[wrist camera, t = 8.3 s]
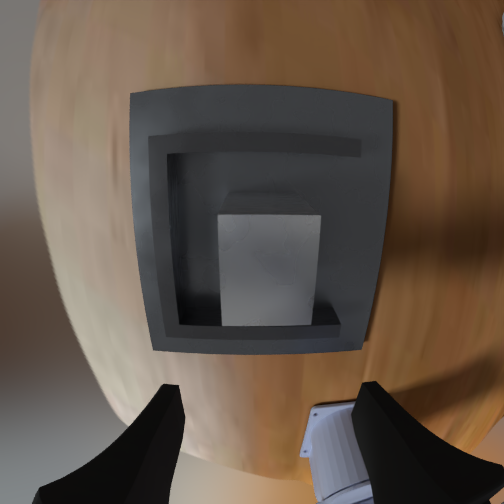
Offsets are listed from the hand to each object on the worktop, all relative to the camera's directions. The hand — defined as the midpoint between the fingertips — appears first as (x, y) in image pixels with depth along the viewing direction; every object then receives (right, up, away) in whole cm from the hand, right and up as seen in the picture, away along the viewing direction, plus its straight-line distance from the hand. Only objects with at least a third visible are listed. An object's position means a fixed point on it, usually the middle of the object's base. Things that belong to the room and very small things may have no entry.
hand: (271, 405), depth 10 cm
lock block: (0, +7, +7) cm, 10 cm away
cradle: (0, +7, +8) cm, 11 cm away
